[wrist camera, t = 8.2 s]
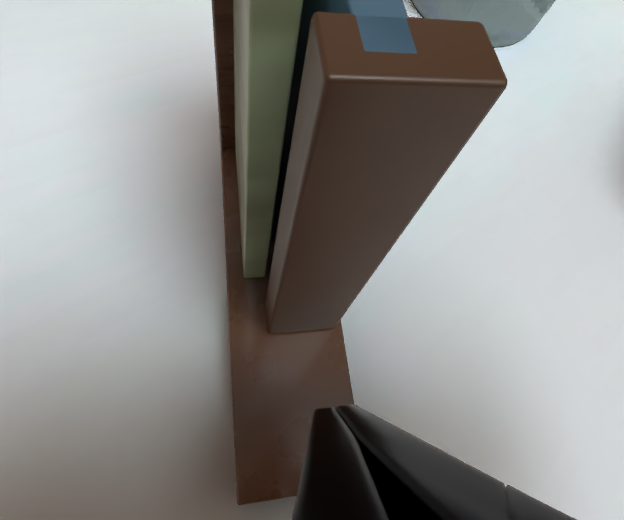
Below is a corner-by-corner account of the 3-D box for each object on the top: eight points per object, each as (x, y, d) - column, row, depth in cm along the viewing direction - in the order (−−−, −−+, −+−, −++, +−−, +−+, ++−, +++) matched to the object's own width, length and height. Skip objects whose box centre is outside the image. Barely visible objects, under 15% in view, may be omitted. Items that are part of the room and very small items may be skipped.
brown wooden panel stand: (357, 483, 14) (922, 597, 2) (237, 502, 13) (222, 798, 2) (307, 151, 20) (405, -294, 8) (221, 151, 19) (191, -340, 7)
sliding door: (334, 328, 15) (512, 84, 5) (267, 334, 15) (324, 76, 5) (312, 180, 18) (402, -169, 8) (254, 181, 17) (274, -189, 7)
